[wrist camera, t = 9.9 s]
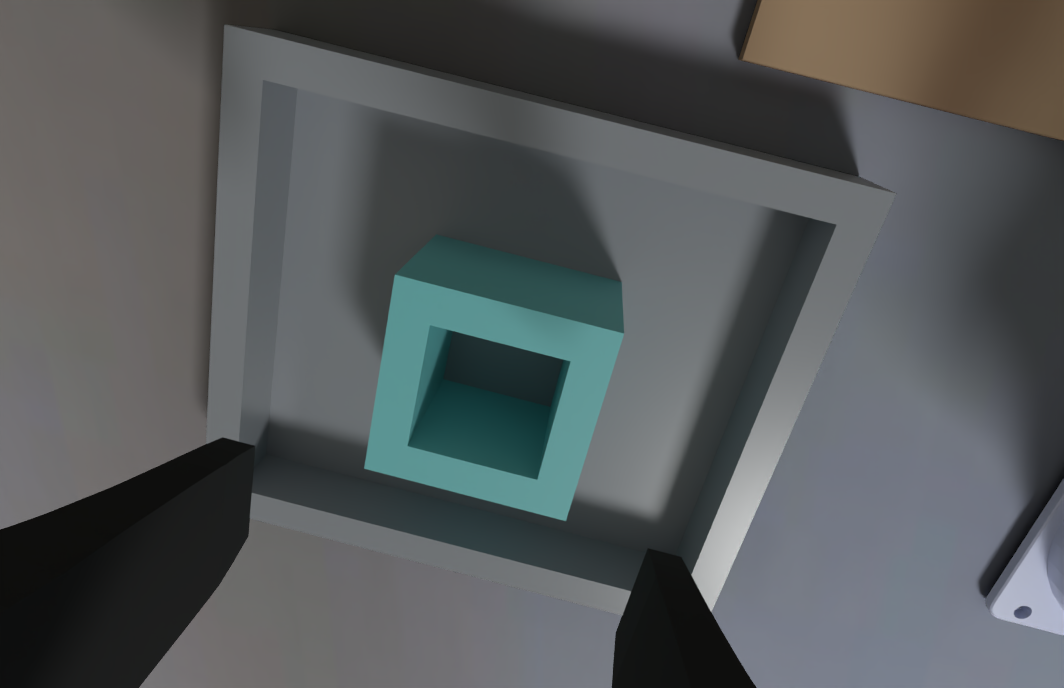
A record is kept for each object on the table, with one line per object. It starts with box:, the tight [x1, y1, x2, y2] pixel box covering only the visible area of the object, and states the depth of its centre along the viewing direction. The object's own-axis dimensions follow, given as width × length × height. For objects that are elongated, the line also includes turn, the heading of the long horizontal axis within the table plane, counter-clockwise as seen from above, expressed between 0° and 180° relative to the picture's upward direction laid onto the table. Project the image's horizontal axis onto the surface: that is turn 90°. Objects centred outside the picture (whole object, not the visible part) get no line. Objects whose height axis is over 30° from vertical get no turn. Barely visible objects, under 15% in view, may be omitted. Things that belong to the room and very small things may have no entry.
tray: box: [206, 24, 897, 615], centre depth 20 cm, size 16×14×2 cm
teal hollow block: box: [364, 234, 624, 521], centre depth 19 cm, size 5×7×4 cm
